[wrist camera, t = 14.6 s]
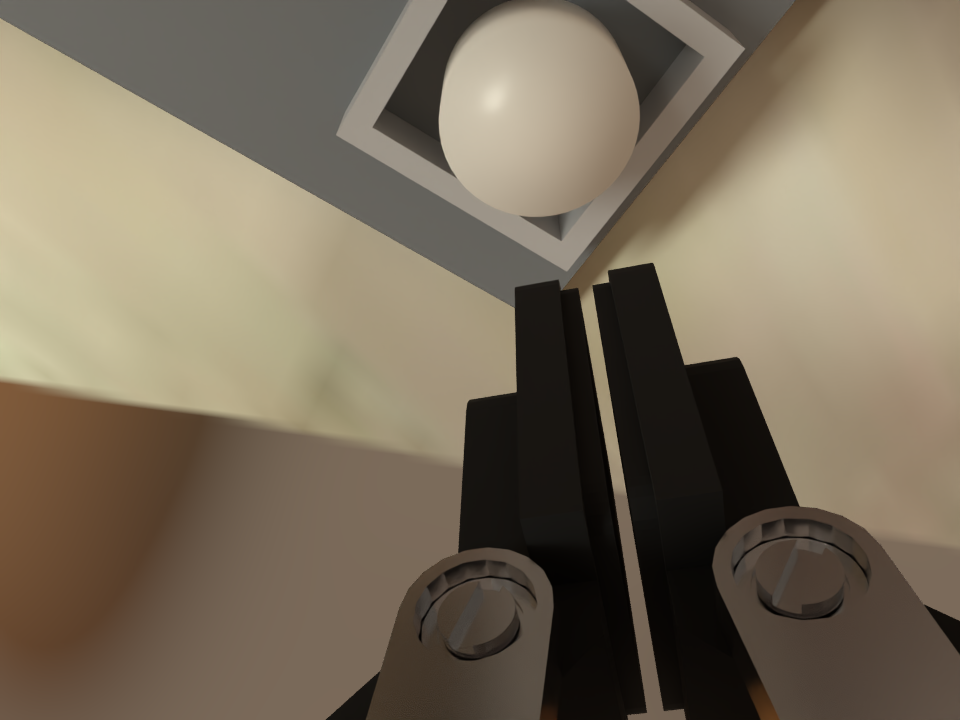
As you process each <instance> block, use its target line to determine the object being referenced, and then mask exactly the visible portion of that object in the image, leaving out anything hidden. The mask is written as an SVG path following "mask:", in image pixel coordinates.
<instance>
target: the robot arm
mask: <svg viewBox="0 0 960 720" xmlns="http://www.w3.org/2000/svg"><path fill="white" fill-rule="evenodd" d="M608 276H609V283H603V284H597V285H592V286H593V293H594V299H595V305H596V311H597V317H598V323H599V329H600V335H601V341H602V347H603V353H604V359H605V365H606V371H607V378H608V384H609V390H610V396H611V402H612V408H613V414H614V420H615V426H616V432H617V438H618V444H619V450H620V456H621V462H622V468H623V474H624V480H625V486H626V492H627V498H628V503H629V510H630V515H631V521H632V526H633V533H634V539H635V545H636V550H637V557H638V562H639V568H640V574H641V580H642V586H643V592H644V598H645V604H646V609H647V615H648V621H649V627H650V632H651V639H652V645H653V651H654V656H655V662H656V668H657V674H658V680H659V686H660V692H661V698H662V703H663V709H664V711H668V710H677V709H684V712H685V716H686V720H960V621H959V620H956V619H954V618H952V617H950V616H948V615H946V614H943V613H941V612H939V611H937V610H935V609H932V608H930V607H928V606H926V605H924V604H923V603H922V602H921V600H920V599H919V597H918V596H917V595H916V593H915V592H914V591H913V589H912V588H911V586H910V585H909V584H908V582H907V581H906V579H905V578H904V576H903V575H902V574H901V572H900V571H899V570H898V568H897V567H896V565H895V564H894V563H893V561H892V560H891V558H890V557H889V556H888V554H887V553H886V552H885V550H884V549H883V548H882V546H881V545H880V544H879V543H878V542H877V541H876V540H875V539H874V538H873V537H872V536H871V535H870V534H869V533H868V532H867V531H866V530H865V529H864V528H863V527H861V526H859V525H857V524H856V523H854V522H852V521H850V520H849V519H847V518H845V517H843V516H841V515H838V514H835V513H831V512H828V511H825V510H821V509H818V508H808V507H800V506H799V504H798V501H797V499H796V496H795V494H794V491H793V489H792V486H791V484H790V481H789V479H788V476H787V474H786V471H785V469H784V466H783V464H782V461H781V459H780V456H779V454H778V451H777V449H776V446H775V444H774V441H773V439H772V436H771V434H770V431H769V429H768V426H767V424H766V421H765V419H764V416H763V414H762V411H761V409H760V406H759V404H758V401H757V399H756V396H755V394H754V391H753V389H752V386H751V384H750V381H749V379H748V376H747V374H746V371H745V369H744V367H743V365H742V363H741V361H740V359H739V358H737V357H733V358H727V359H721V360H715V361H709V362H702V363H696V364H690V365H684V362H683V359H682V356H681V352H680V349H679V346H678V342H677V339H676V336H675V332H674V329H673V326H672V323H671V319H670V316H669V313H668V309H667V306H666V303H665V299H664V296H663V293H662V289H661V286H660V283H659V280H658V276H657V273H656V270H655V266H654V264H653V263H648V264H642V265H637V266H631V267H625V268H620V269H614V270H609V271H608ZM515 332H516V377H517V392H516V393H509V394H503V395H497V396H491V397H485V398H478V399H472V400H469V401H468V403H467V410H466V425H465V443H464V461H463V478H462V479H463V480H462V496H461V514H460V532H459V549H458V554H455V555H452V556H450V557H447V558H444V559H442V560H441V561H439V562H438V563H437V564H435V565H434V566H432V567H430V568H429V569H427V570H426V571H424V572H423V573H422V574H421V575H420V577H419V578H418V579H417V580H416V581H415V582H414V583H413V584H412V585H411V587H410V588H409V589H408V591H407V593H406V595H405V597H404V599H403V601H402V603H401V605H400V607H399V610H398V614H397V617H396V621H395V624H394V627H393V631H392V634H391V637H390V640H389V644H388V647H387V650H386V654H385V657H384V661H383V664H382V667H381V670H380V672H378V674H376V675H375V676H374V677H373V678H372V679H371V680H370V681H369V682H367V683H366V684H365V685H364V686H363V687H362V688H361V689H360V690H358V691H357V692H356V693H355V694H354V695H353V696H352V697H351V698H349V699H348V700H347V701H346V702H345V703H344V704H343V705H342V706H341V707H340V708H338V709H337V710H336V711H335V712H334V713H333V714H332V715H331V716H329V717H328V718H327V719H326V720H628V717H627V715H631V714H640V713H647V710H646V703H645V696H644V690H643V683H642V676H641V670H640V664H639V657H638V650H637V644H636V637H635V630H634V624H633V617H632V611H631V604H630V598H629V592H628V585H627V578H626V571H625V565H624V558H623V552H622V545H621V539H620V532H619V525H618V520H617V512H616V506H615V499H614V492H613V486H612V479H611V473H610V467H609V461H608V455H607V450H606V444H605V438H604V432H603V427H602V421H601V415H600V410H599V404H598V398H597V393H596V387H595V381H594V375H593V370H592V364H591V358H590V353H589V347H588V341H587V335H586V330H585V324H584V318H583V313H582V307H581V301H580V296H579V290H578V288H574V289H569V290H563V291H561V287H560V282H559V279H558V280H552V281H546V282H541V283H535V284H530V285H524V286H518V287H515Z"/></svg>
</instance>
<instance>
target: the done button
mask: <svg viewBox="0 0 960 720" xmlns="http://www.w3.org/2000/svg"><path fill="white" fill-rule="evenodd" d="M639 122H640V108H639V100H638V94H637V90H636V87H635V84H634V81H633V79H632V76H631V74H630V72H629V70H628V67H627V65H626V63H625V61H624V58H623V56H622V54H621V52H620V49H619V47H618V45H617V43H616V41H615V39H614V38H613V37H612V35H611V34H610V32H609V31H608V29H607V28H606V27H605V26H604V25H603V24H602V23H601V22H600V21H599V20H598V19H597V18H596V17H595V16H593V15H592V14H591V13H590V12H588V11H586V10H585V9H583V8H581V7H580V6H578V5H575V4H573V3H571V2H568V1H565V0H510V1H507V2H504V3H502V4H500V5H498V6H495V7H493V8H492V9H490V10H488V11H487V12H485V13H484V14H482V15H481V16H480V17H478V18H477V19H476V20H475V21H474V22H472V24H471V25H470V26H469V27H468V28H467V29H466V30H465V31H464V32H463V34H462V35H461V37H460V38H459V39H458V41H457V42H456V44H455V46H454V48H453V50H452V52H451V54H450V57H449V60H448V62H447V65H446V70H445V74H444V80H443V88H442V95H441V103H440V112H439V134H440V139H441V145H442V148H443V151H444V154H445V157H446V160H447V162H448V164H449V166H450V168H451V170H452V171H453V173H454V174H455V176H456V177H457V179H458V180H459V181H460V182H461V183H462V185H463V186H464V187H465V188H466V189H467V190H468V191H469V192H470V193H472V194H473V195H474V196H475V197H477V198H478V199H479V200H481V201H482V202H484V203H486V204H487V205H489V206H491V207H493V208H495V209H498V210H501V211H503V212H506V213H510V214H514V215H519V216H528V217H545V216H552V215H558V214H562V213H566V212H569V211H571V210H574V209H577V208H579V207H581V206H583V205H585V204H587V203H589V202H590V201H592V200H593V199H595V198H596V197H598V196H599V195H601V194H602V193H603V192H604V191H605V190H606V189H607V188H608V187H610V186H611V184H612V183H613V182H614V181H615V180H616V179H617V178H618V177H619V175H620V174H621V172H622V171H623V169H624V168H625V166H626V165H627V163H628V161H629V159H630V157H631V155H632V152H633V150H634V147H635V144H636V140H637V136H638V132H639Z"/></svg>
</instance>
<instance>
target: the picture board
mask: <svg viewBox="0 0 960 720" xmlns="http://www.w3.org/2000/svg"><path fill="white" fill-rule="evenodd" d="M507 1H510V0H0V18H1V19H3V20H5V21H6V22H8V23H10V24H12V25H13V26H15V27H17V28H19V29H20V30H22V31H24V32H26V33H28V34H29V35H31V36H33V37H35V38H36V39H38V40H40V41H42V42H44V43H45V44H47V45H49V46H51V47H52V48H54V49H56V50H58V51H60V52H61V53H63V54H65V55H67V56H68V57H70V58H72V59H74V60H76V61H77V62H79V63H81V64H83V65H84V66H86V67H88V68H90V69H91V70H93V71H95V72H97V73H99V74H100V75H102V76H104V77H106V78H107V79H109V80H111V81H113V82H115V83H116V84H118V85H120V86H122V87H123V88H125V89H127V90H129V91H131V92H132V93H134V94H136V95H138V96H139V97H141V98H143V99H145V100H147V101H148V102H150V103H152V104H154V105H155V106H157V107H159V108H161V109H163V110H164V111H166V112H168V113H170V114H171V115H173V116H175V117H177V118H178V119H180V120H182V121H184V122H186V123H187V124H189V125H191V126H193V127H194V128H196V129H198V130H200V131H202V132H203V133H205V134H207V135H209V136H210V137H212V138H214V139H216V140H218V141H219V142H221V143H223V144H225V145H226V146H228V147H230V148H232V149H234V150H235V151H237V152H239V153H241V154H242V155H244V156H246V157H248V158H249V159H251V160H253V161H255V162H257V163H258V164H260V165H262V166H264V167H265V168H267V169H269V170H271V171H273V172H274V173H276V174H278V175H280V176H281V177H283V178H285V179H287V180H289V181H290V182H292V183H294V184H296V185H297V186H299V187H301V188H303V189H305V190H306V191H308V192H310V193H312V194H313V195H315V196H317V197H319V198H320V199H322V200H324V201H326V202H328V203H329V204H331V205H333V206H335V207H336V208H338V209H340V210H342V211H344V212H345V213H347V214H349V215H351V216H352V217H354V218H356V219H358V220H360V221H361V222H363V223H365V224H367V225H368V226H370V227H372V228H374V229H376V230H377V231H379V232H381V233H383V234H384V235H386V236H388V237H390V238H391V239H393V240H395V241H397V242H399V243H400V244H402V245H404V246H406V247H407V248H409V249H411V250H413V251H415V252H416V253H418V254H420V255H422V256H423V257H425V258H427V259H429V260H431V261H432V262H434V263H436V264H438V265H439V266H441V267H443V268H445V269H447V270H448V271H450V272H452V273H454V274H455V275H457V276H459V277H461V278H462V279H464V280H466V281H468V282H470V283H471V284H473V285H475V286H477V287H478V288H480V289H482V290H484V291H486V292H487V293H489V294H491V295H493V296H494V297H496V298H498V299H500V300H502V301H503V302H505V303H507V304H509V305H510V306H512V307H514V308H515V287H518V286H524V285H530V284H535V283H541V282H546V281H552V280H558V279H559V282H560V287H561V291H562V289H563V288H564V287H565V286H566V284H567V283H568V282H569V281H570V279H571V278H572V277H573V276H574V274H575V273H576V272H577V271H578V269H579V268H580V267H581V266H582V264H583V263H584V262H585V261H586V260H587V258H588V257H589V256H590V255H591V253H592V252H593V251H594V250H595V248H596V247H597V246H598V245H599V243H600V242H601V241H602V240H603V238H604V237H605V236H606V235H607V233H608V232H609V231H610V230H611V229H612V227H613V226H614V225H615V224H616V222H617V221H618V220H619V219H620V217H621V216H622V215H623V214H624V212H625V211H626V210H627V209H628V207H629V206H630V205H631V204H632V202H633V201H634V200H635V199H636V198H637V196H638V195H639V194H640V193H641V191H642V190H643V189H644V188H645V186H646V185H647V184H648V183H649V181H650V180H651V179H652V178H653V176H654V175H655V174H656V173H657V171H658V170H659V169H660V168H661V167H662V165H663V164H664V163H665V162H666V160H667V159H668V158H669V157H670V155H671V154H672V153H673V152H674V150H675V149H676V148H677V147H678V145H679V144H680V143H681V142H682V140H683V139H684V138H685V137H686V136H687V134H688V133H689V132H690V131H691V129H692V128H693V127H694V126H695V124H696V123H697V122H698V121H699V119H700V118H701V117H702V116H703V114H704V113H705V112H706V111H707V109H708V108H709V107H710V106H711V105H712V103H713V102H714V101H715V100H716V98H717V97H718V96H719V95H720V93H721V92H722V91H723V90H724V88H725V87H726V86H727V85H728V83H729V82H730V81H731V80H732V78H733V77H734V76H735V75H736V74H737V72H738V71H739V70H740V69H741V67H742V66H743V65H744V64H745V62H746V61H747V60H748V59H749V57H750V56H751V55H752V54H753V52H754V51H755V50H756V49H757V47H758V46H759V45H760V44H761V43H762V41H763V40H764V39H765V38H766V36H767V35H768V34H769V33H770V31H771V30H772V29H773V28H774V26H775V25H776V24H777V23H778V21H779V20H780V19H781V18H782V16H783V15H784V14H785V13H786V12H787V10H788V9H789V8H790V7H791V5H792V4H793V3H794V2H795V0H565V1H568V2H571V3H573V4H575V5H578V6H580V7H581V8H583V9H585V10H586V11H588V12H590V13H591V14H592V15H593V16H595V17H596V18H597V19H598V20H599V21H600V22H601V23H602V24H603V25H604V26H605V27H606V28H607V29H608V31H609V32H610V34H611V35H612V37H613V38H614V39H615V41H616V43H617V45H618V47H619V49H620V52H621V54H622V56H623V58H624V61H625V63H626V65H627V67H628V70H629V72H630V74H631V76H632V79H633V81H634V84H635V87H636V90H637V94H638V100H639V108H640V122H639V132H638V136H637V140H636V144H635V147H634V150H633V152H632V155H631V157H630V159H629V161H628V163H627V165H626V166H625V168H624V169H623V171H622V172H621V174H620V175H619V177H618V178H617V179H616V180H615V181H614V182H613V183H612V184H611V186H610V187H608V188H607V189H606V190H605V191H604V192H603V193H602V194H601V195H599V196H598V197H596V198H595V199H593V200H592V201H590V202H589V203H587V204H585V205H583V206H581V207H579V208H577V209H574V210H571V211H569V212H566V213H562V214H558V215H552V216H545V217H528V216H519V215H514V214H510V213H506V212H503V211H501V210H498V209H495V208H493V207H491V206H489V205H487V204H486V203H484V202H482V201H481V200H479V199H478V198H477V197H475V196H474V195H473V194H472V193H470V192H469V191H468V190H467V189H466V188H465V187H464V186H463V185H462V183H461V182H460V181H459V180H458V179H457V177H456V176H455V174H454V173H453V171H452V170H451V168H450V166H449V164H448V162H447V160H446V157H445V154H444V151H443V148H442V145H441V139H440V134H439V112H440V103H441V95H442V88H443V80H444V74H445V70H446V65H447V62H448V60H449V57H450V54H451V52H452V50H453V48H454V46H455V44H456V42H457V41H458V39H459V38H460V37H461V35H462V34H463V32H464V31H465V30H466V29H467V28H468V27H469V26H470V25H471V24H472V22H474V21H475V20H476V19H477V18H478V17H480V16H481V15H482V14H484V13H485V12H487V11H488V10H490V9H492V8H493V7H495V6H498V5H500V4H502V3H504V2H507Z"/></svg>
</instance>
